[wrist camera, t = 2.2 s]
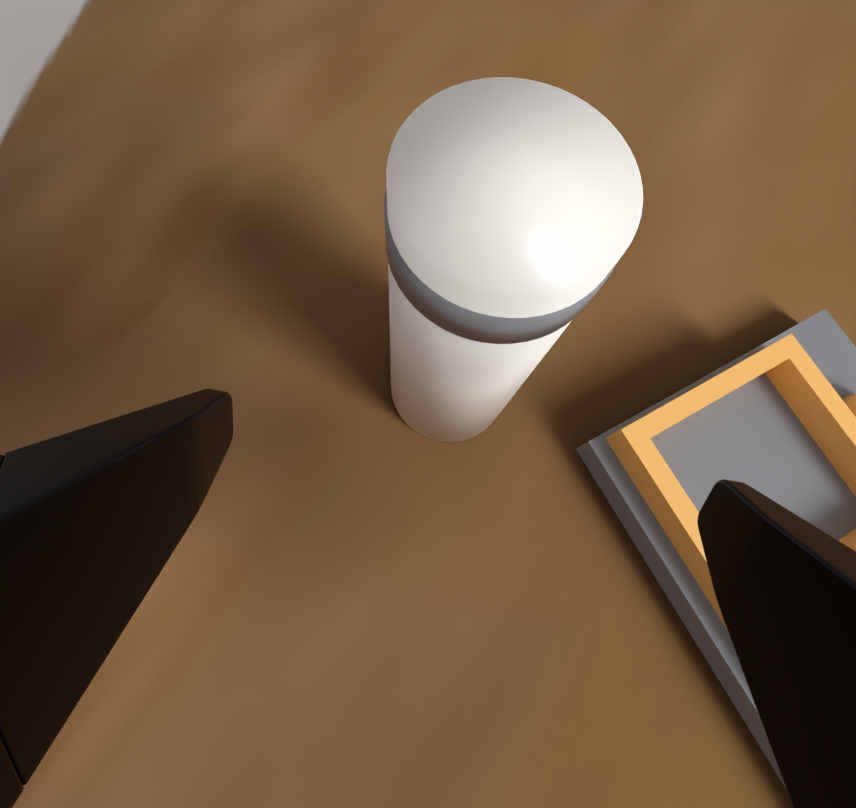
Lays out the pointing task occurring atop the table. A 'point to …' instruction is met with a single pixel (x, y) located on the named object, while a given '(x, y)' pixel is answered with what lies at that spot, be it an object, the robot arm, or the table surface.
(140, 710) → the table surface
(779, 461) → the board
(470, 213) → the white bottle
